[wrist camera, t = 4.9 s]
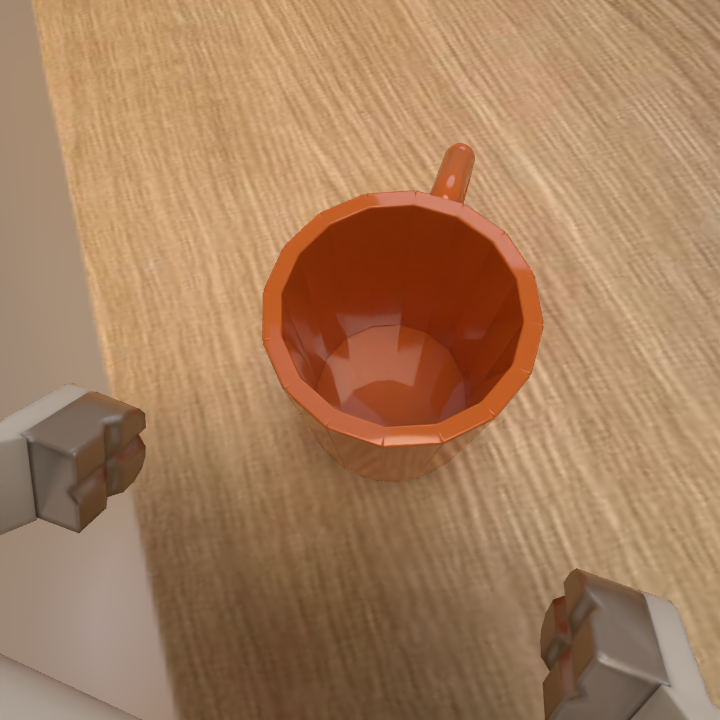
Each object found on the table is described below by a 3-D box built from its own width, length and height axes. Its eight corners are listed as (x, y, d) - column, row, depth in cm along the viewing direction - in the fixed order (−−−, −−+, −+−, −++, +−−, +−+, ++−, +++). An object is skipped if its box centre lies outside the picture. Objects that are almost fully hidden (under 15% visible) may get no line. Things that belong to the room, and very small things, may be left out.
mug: (447, 507, 17) (502, 489, 10) (282, 448, 18) (216, 390, 11) (511, 281, 20) (593, 132, 13) (366, 239, 21) (361, 76, 13)
